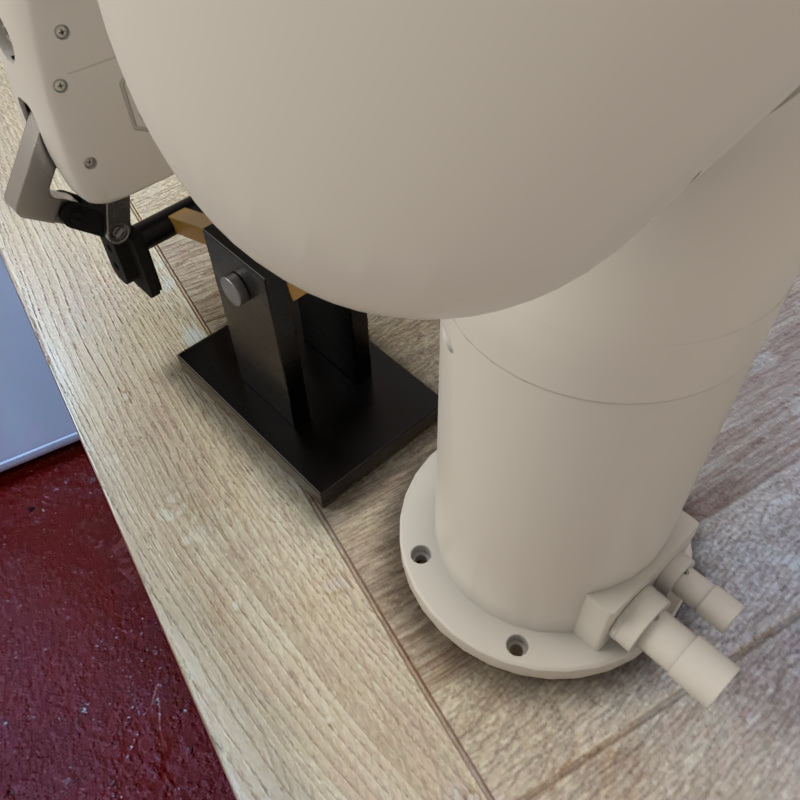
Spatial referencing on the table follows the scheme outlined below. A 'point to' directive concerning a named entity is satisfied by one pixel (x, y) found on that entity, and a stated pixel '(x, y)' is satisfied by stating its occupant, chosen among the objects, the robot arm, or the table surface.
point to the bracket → (304, 378)
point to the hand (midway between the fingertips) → (187, 255)
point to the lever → (184, 229)
